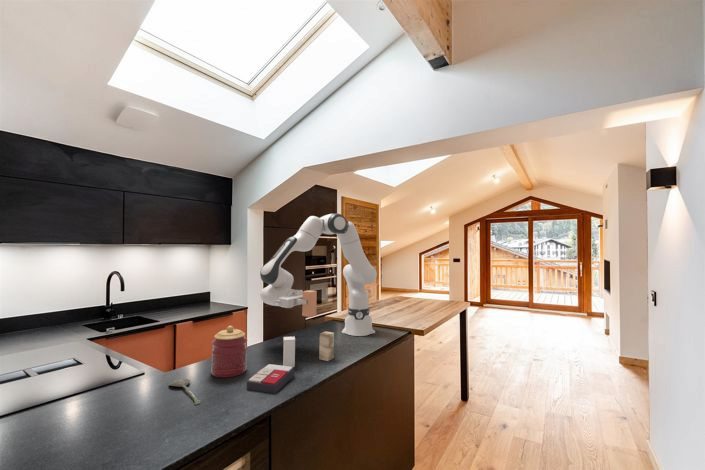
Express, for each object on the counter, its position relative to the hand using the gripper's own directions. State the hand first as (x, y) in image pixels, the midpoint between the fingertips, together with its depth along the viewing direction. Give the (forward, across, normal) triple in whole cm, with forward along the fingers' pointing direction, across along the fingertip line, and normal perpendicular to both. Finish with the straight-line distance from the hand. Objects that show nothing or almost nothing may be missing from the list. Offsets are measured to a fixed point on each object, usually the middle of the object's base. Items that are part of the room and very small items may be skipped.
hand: (311, 301), depth 150 cm
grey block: (+1, -15, +24) cm, 28 cm away
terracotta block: (-1, 0, +6) cm, 7 cm away
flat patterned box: (+8, -31, +24) cm, 40 cm away
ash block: (+9, 0, +24) cm, 26 cm away
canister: (-13, -33, +24) cm, 43 cm away
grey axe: (-10, -52, +25) cm, 59 cm away
